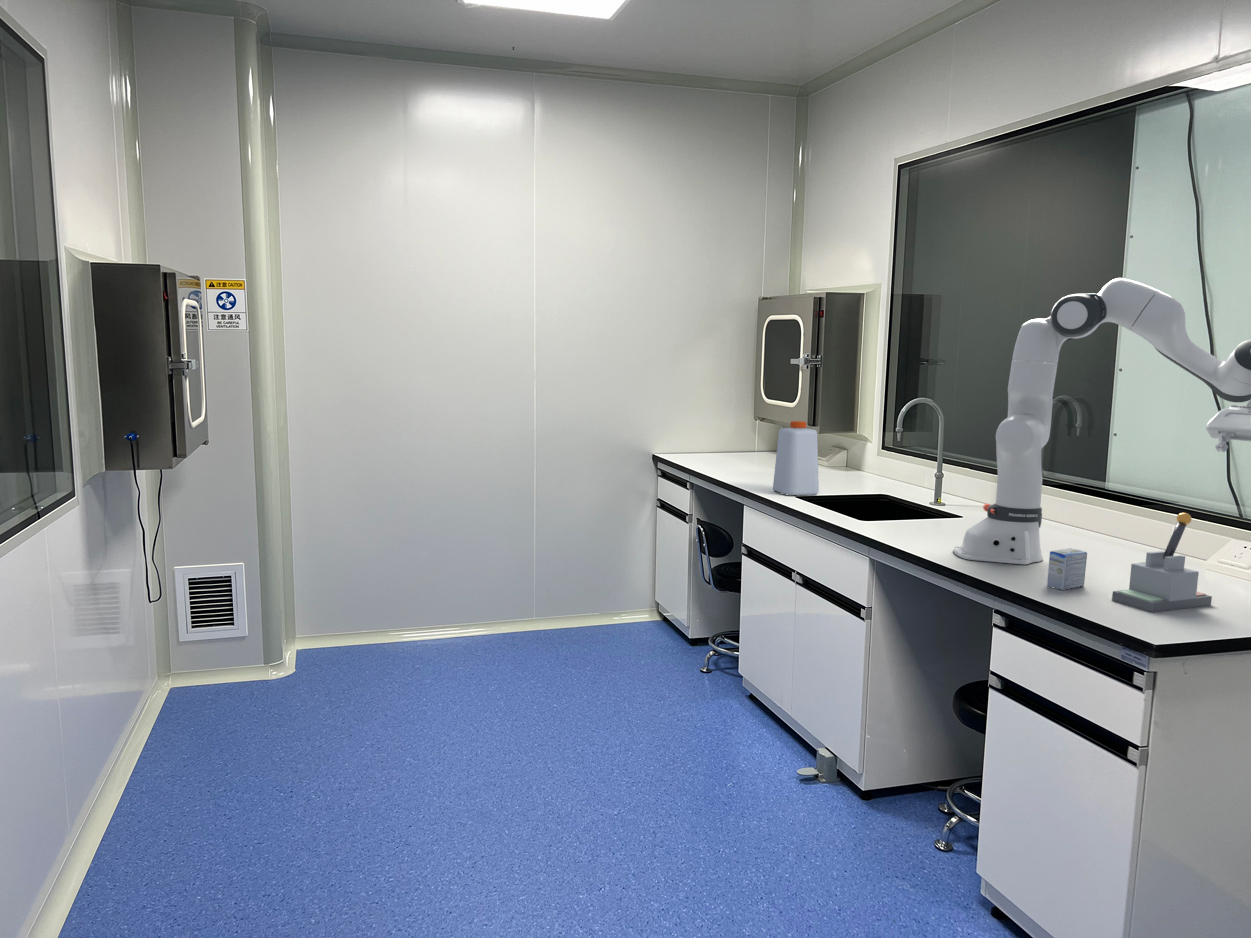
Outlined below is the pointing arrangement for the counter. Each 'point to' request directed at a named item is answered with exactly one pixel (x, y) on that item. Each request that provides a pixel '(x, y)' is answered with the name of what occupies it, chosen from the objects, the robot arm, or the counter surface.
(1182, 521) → the lever
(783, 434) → the plastic bottle
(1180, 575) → the breaker block
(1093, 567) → the counter surface
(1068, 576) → the medicine box
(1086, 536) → the counter surface
